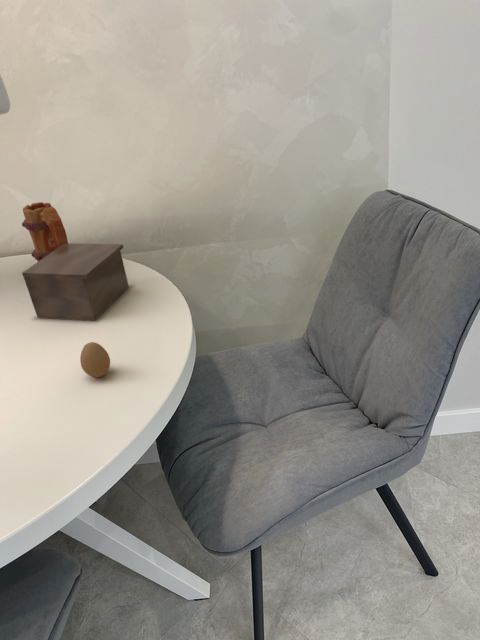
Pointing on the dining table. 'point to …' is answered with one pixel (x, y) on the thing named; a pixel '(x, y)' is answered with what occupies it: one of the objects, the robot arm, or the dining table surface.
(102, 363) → the egg
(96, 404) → the dining table surface
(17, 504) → the dining table surface
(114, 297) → the chest
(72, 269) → the chest lid
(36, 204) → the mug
